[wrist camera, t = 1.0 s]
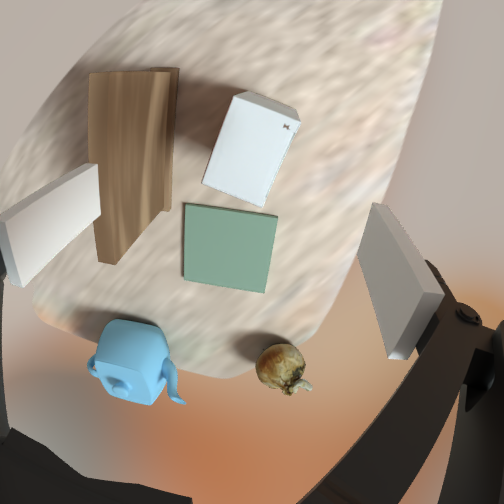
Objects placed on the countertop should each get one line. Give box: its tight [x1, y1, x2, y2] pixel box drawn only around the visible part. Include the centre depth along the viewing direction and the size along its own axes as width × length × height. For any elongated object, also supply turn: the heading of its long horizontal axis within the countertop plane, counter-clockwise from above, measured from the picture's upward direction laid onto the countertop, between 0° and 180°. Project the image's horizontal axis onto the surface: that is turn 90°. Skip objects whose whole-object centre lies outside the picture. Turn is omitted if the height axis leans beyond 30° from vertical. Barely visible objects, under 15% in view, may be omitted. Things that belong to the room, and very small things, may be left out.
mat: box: [184, 203, 278, 293], centre depth 40 cm, size 11×11×1 cm
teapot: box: [87, 319, 186, 405], centre depth 46 cm, size 12×18×12 cm
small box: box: [201, 91, 301, 208], centre depth 28 cm, size 8×6×10 cm
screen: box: [88, 68, 179, 265], centre depth 28 cm, size 3×17×14 cm, turn 173°
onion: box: [255, 344, 312, 396], centre depth 45 cm, size 8×8×8 cm
